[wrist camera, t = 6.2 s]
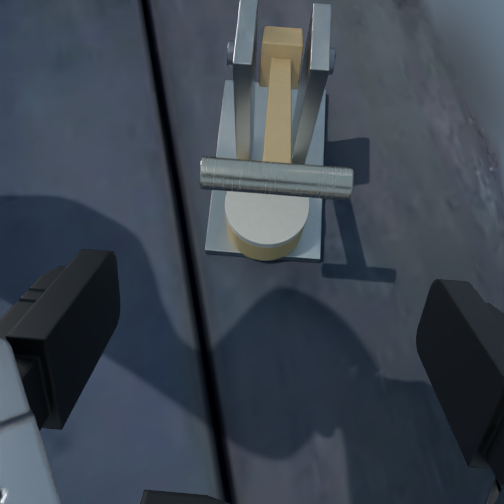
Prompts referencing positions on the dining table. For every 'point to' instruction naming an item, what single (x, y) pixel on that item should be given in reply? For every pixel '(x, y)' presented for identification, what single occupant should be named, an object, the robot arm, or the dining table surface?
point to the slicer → (254, 118)
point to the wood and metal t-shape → (278, 136)
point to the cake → (265, 223)
